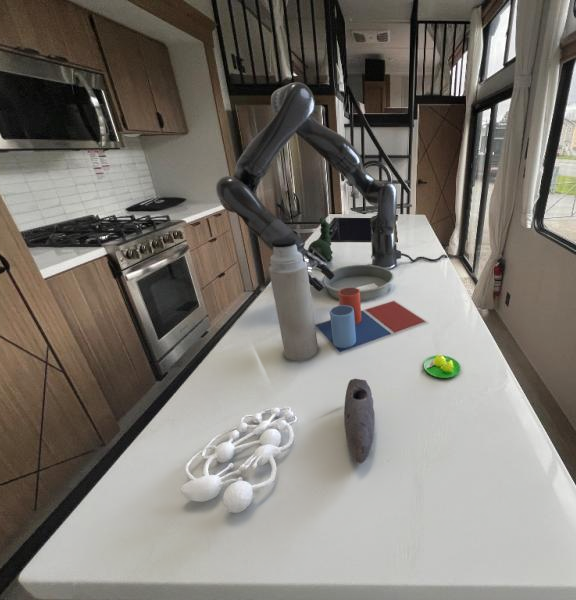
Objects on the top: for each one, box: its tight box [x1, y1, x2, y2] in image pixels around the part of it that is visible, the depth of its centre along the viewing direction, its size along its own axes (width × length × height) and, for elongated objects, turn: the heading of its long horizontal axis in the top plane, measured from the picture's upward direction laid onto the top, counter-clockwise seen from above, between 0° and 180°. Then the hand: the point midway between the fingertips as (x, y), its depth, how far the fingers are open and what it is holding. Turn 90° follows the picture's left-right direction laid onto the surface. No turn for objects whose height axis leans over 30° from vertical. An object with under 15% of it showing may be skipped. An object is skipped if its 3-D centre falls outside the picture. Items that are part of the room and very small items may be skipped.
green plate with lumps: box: [423, 354, 461, 379], centre depth 72 cm, size 8×8×3 cm
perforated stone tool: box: [343, 378, 375, 465], centre depth 55 cm, size 15×5×7 cm, turn 3°
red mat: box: [365, 300, 426, 333], centre depth 94 cm, size 10×16×1 cm, turn 32°
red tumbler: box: [338, 287, 362, 325], centre depth 90 cm, size 6×6×9 cm
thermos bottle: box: [268, 238, 319, 361], centre depth 73 cm, size 8×8×28 cm
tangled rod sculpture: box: [180, 406, 298, 514], centre depth 52 cm, size 19×14×4 cm
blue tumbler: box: [329, 304, 356, 348], centre depth 80 cm, size 6×6×9 cm
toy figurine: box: [307, 216, 334, 266], centre depth 136 cm, size 9×19×25 cm
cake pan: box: [321, 264, 395, 302], centre depth 112 cm, size 25×25×4 cm
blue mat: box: [315, 310, 392, 353], centre depth 88 cm, size 15×16×1 cm
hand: (327, 283), depth 88 cm, fingers open, 8 cm apart
